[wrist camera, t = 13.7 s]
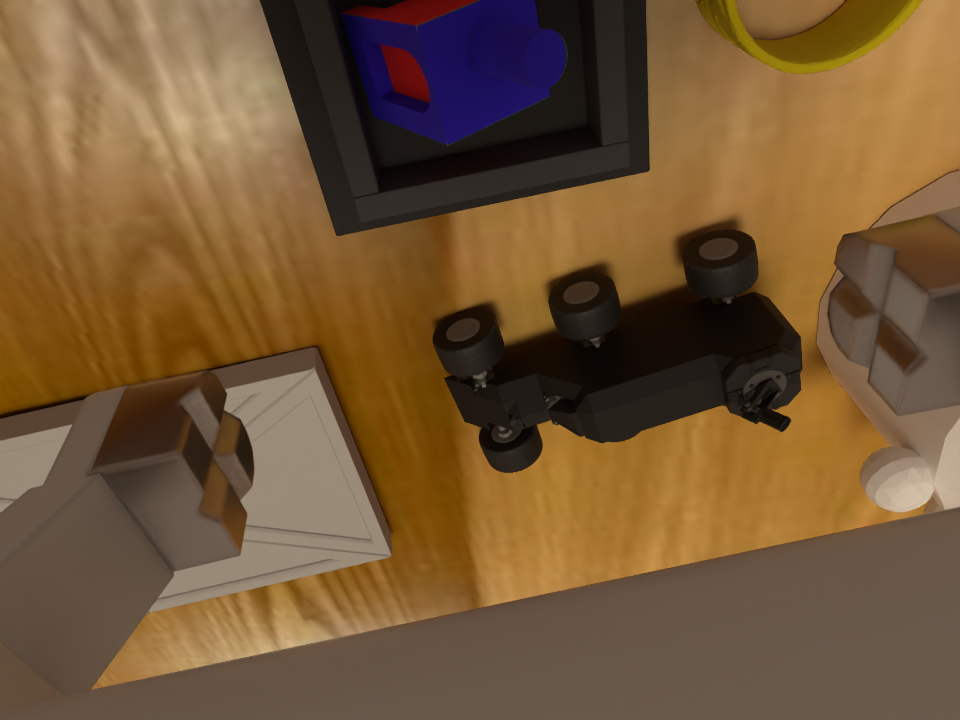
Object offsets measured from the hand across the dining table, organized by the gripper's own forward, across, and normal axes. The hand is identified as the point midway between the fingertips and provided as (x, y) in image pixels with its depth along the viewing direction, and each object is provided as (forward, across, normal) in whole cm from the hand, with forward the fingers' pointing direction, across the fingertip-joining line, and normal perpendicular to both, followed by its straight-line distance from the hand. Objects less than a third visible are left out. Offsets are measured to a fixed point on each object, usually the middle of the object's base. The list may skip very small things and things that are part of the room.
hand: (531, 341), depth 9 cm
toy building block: (+20, 0, +1) cm, 20 cm away
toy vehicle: (+20, -5, +16) cm, 26 cm away
